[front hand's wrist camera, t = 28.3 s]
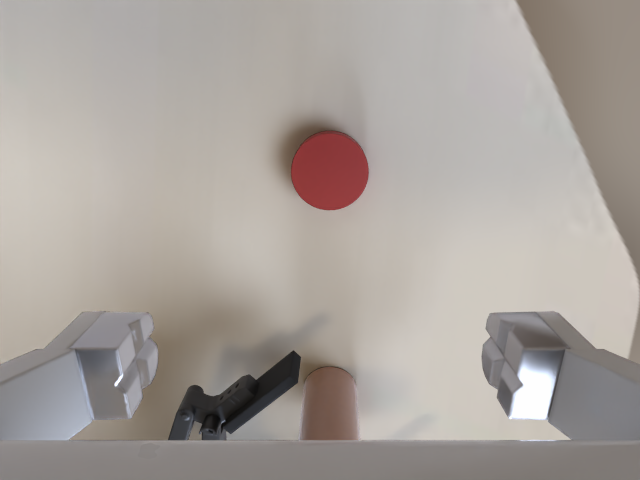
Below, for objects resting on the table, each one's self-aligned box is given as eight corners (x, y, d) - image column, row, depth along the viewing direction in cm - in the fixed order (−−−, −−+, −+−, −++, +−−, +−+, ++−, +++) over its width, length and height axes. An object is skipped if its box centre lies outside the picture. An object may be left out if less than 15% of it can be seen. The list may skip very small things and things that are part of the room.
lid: (294, 203, 31) (292, 210, 29) (292, 130, 29) (290, 133, 28) (365, 204, 31) (367, 210, 29) (368, 130, 29) (370, 133, 27)
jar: (344, 359, 36) (353, 571, 20) (364, 400, 37) (385, 626, 22) (295, 376, 37) (267, 592, 21) (316, 415, 38) (304, 644, 23)
